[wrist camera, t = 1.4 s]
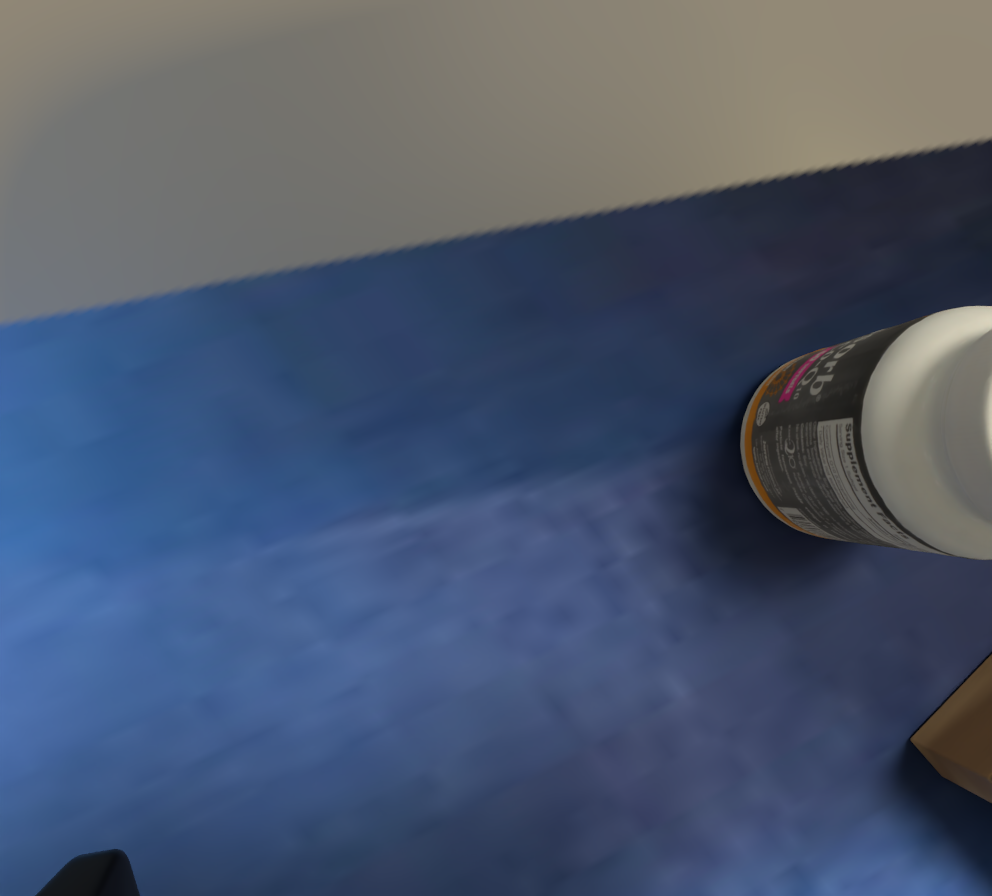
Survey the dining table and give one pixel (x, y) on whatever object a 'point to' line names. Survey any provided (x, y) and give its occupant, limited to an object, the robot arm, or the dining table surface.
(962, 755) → the shelf
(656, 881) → the dining table surface
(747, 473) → the pill bottle
